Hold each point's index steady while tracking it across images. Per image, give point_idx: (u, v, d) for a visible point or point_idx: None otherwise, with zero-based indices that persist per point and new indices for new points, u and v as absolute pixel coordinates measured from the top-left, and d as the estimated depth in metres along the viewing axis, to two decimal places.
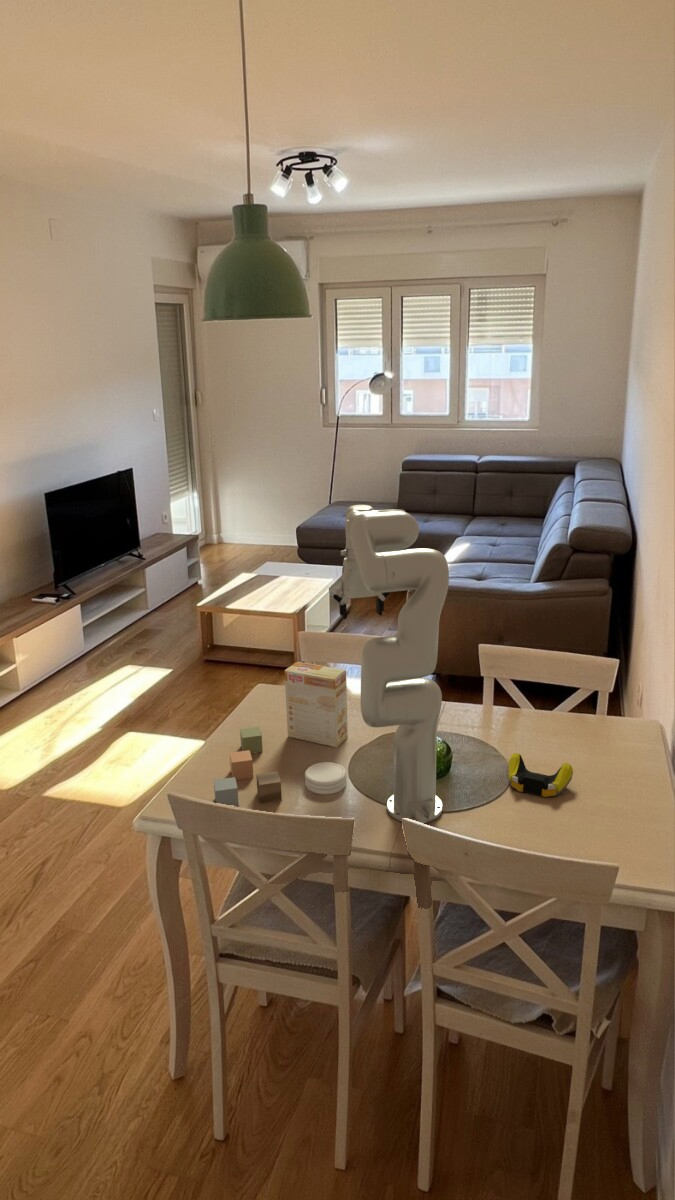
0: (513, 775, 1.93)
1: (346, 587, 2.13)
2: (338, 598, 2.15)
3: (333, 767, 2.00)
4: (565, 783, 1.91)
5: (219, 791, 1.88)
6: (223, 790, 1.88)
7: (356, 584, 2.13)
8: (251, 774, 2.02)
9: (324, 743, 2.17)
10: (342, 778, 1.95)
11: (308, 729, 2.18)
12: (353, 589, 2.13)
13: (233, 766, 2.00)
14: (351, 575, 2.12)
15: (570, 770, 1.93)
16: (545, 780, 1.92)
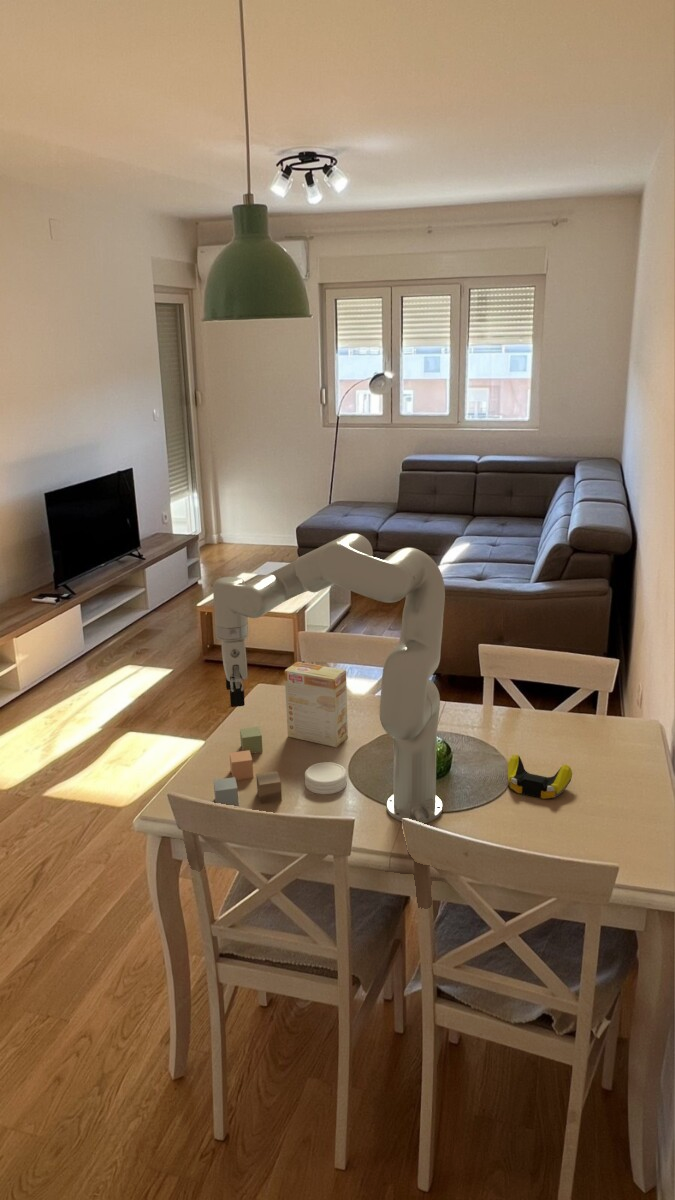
0: (512, 777, 1.92)
1: (246, 668, 1.91)
2: None
3: (333, 767, 2.00)
4: (564, 785, 1.91)
5: (219, 791, 1.88)
6: (223, 790, 1.88)
7: None
8: (251, 774, 2.02)
9: (324, 743, 2.17)
10: (342, 778, 1.95)
11: (308, 729, 2.18)
12: None
13: (233, 766, 2.00)
14: None
15: (569, 772, 1.92)
16: (544, 782, 1.91)
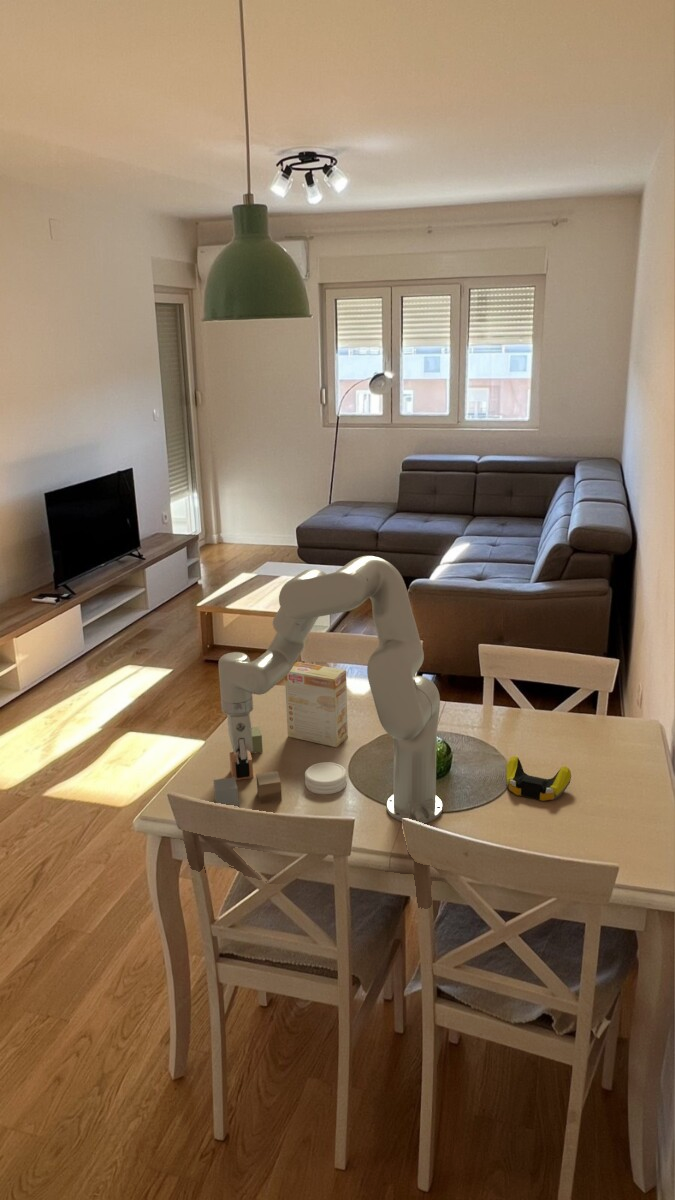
0: (511, 779, 1.91)
1: (252, 741, 1.97)
2: (245, 758, 1.98)
3: (333, 767, 2.00)
4: (563, 787, 1.90)
5: (219, 791, 1.88)
6: (223, 790, 1.88)
7: None
8: (251, 774, 2.02)
9: (324, 743, 2.17)
10: (342, 778, 1.95)
11: (308, 729, 2.18)
12: None
13: (233, 766, 2.00)
14: None
15: (568, 774, 1.92)
16: (543, 784, 1.90)
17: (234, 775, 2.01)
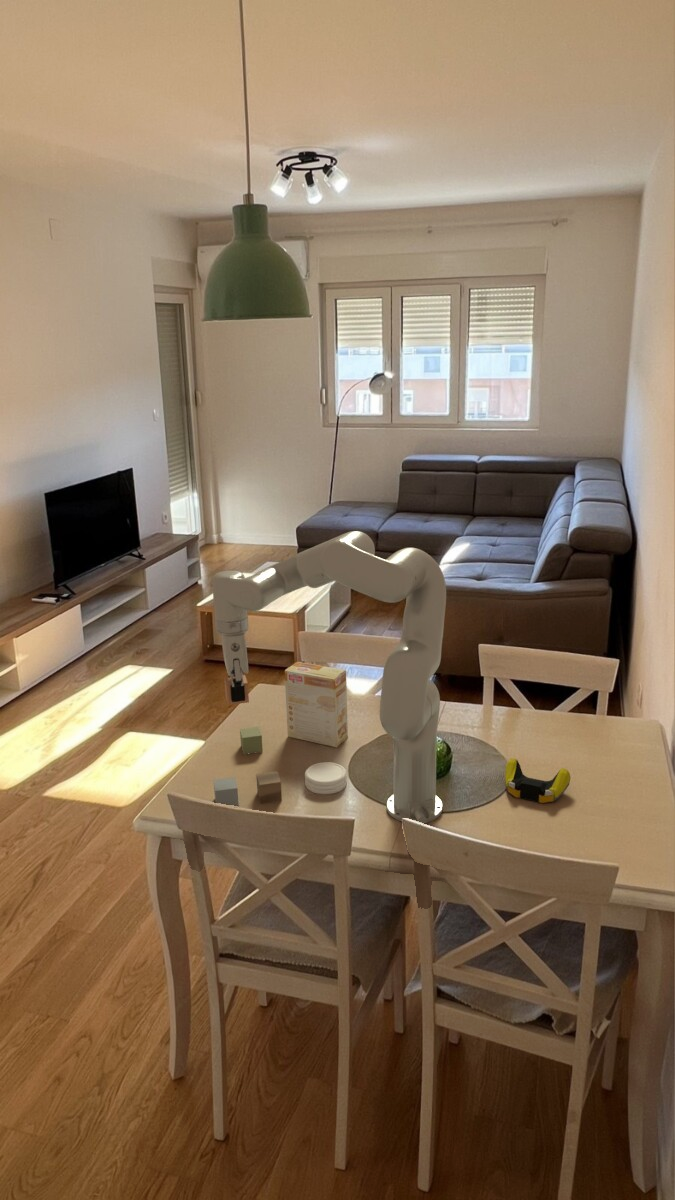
0: (510, 781, 1.91)
1: (247, 662, 1.90)
2: (241, 680, 1.92)
3: (333, 767, 2.00)
4: (562, 789, 1.89)
5: (219, 791, 1.88)
6: (223, 790, 1.88)
7: None
8: (246, 698, 1.95)
9: (324, 743, 2.17)
10: (342, 778, 1.95)
11: (308, 729, 2.18)
12: None
13: (228, 689, 1.94)
14: None
15: (567, 776, 1.91)
16: (542, 786, 1.89)
17: (229, 699, 1.94)
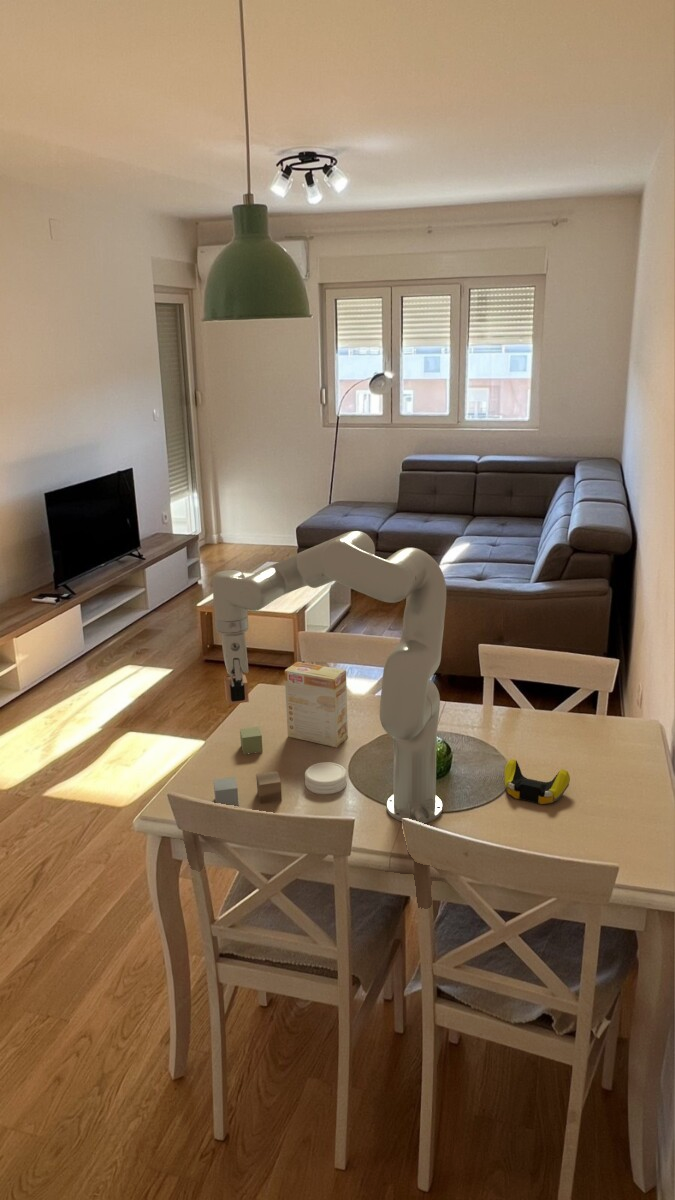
0: (509, 782, 1.90)
1: (247, 662, 1.90)
2: None
3: (333, 767, 2.00)
4: (562, 790, 1.88)
5: (219, 791, 1.88)
6: (223, 790, 1.88)
7: None
8: (246, 698, 1.95)
9: (324, 743, 2.17)
10: (342, 778, 1.95)
11: (308, 729, 2.18)
12: None
13: (227, 689, 1.94)
14: None
15: (567, 777, 1.90)
16: (542, 787, 1.89)
17: (229, 699, 1.94)
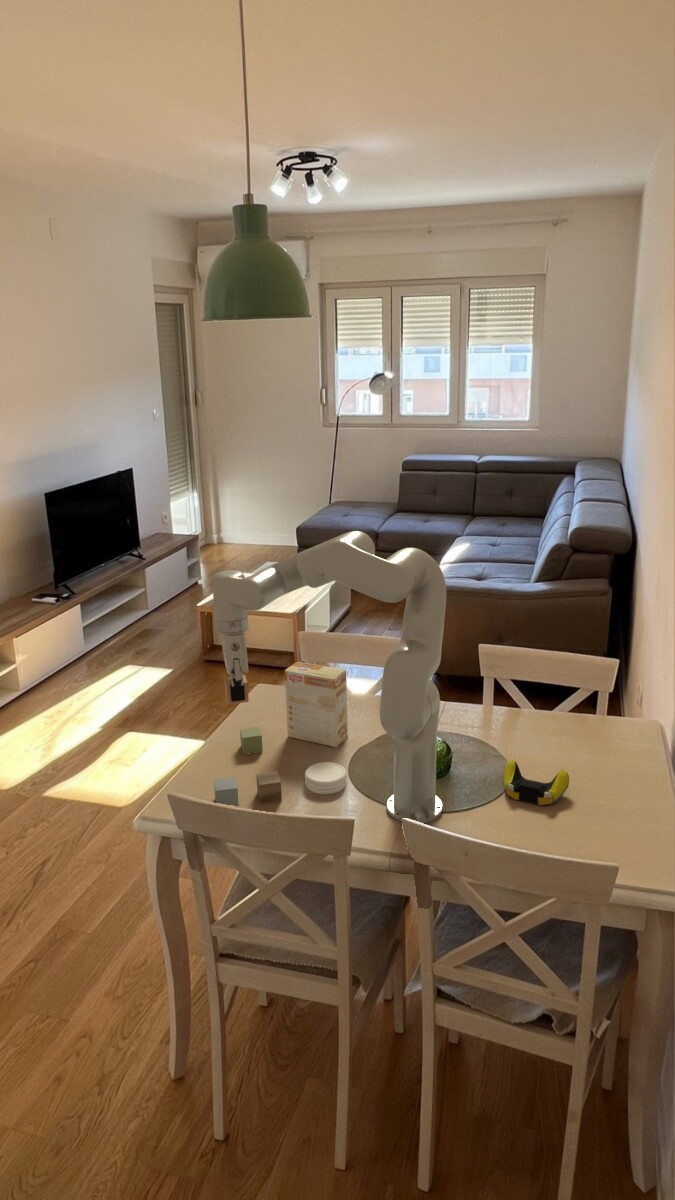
0: (509, 783, 1.90)
1: (247, 662, 1.90)
2: None
3: (333, 767, 2.00)
4: (562, 791, 1.88)
5: (219, 791, 1.88)
6: (223, 790, 1.88)
7: None
8: (246, 698, 1.95)
9: (324, 743, 2.17)
10: (342, 778, 1.95)
11: (308, 729, 2.18)
12: None
13: (227, 689, 1.94)
14: None
15: (566, 777, 1.90)
16: (541, 788, 1.88)
17: (229, 699, 1.94)
